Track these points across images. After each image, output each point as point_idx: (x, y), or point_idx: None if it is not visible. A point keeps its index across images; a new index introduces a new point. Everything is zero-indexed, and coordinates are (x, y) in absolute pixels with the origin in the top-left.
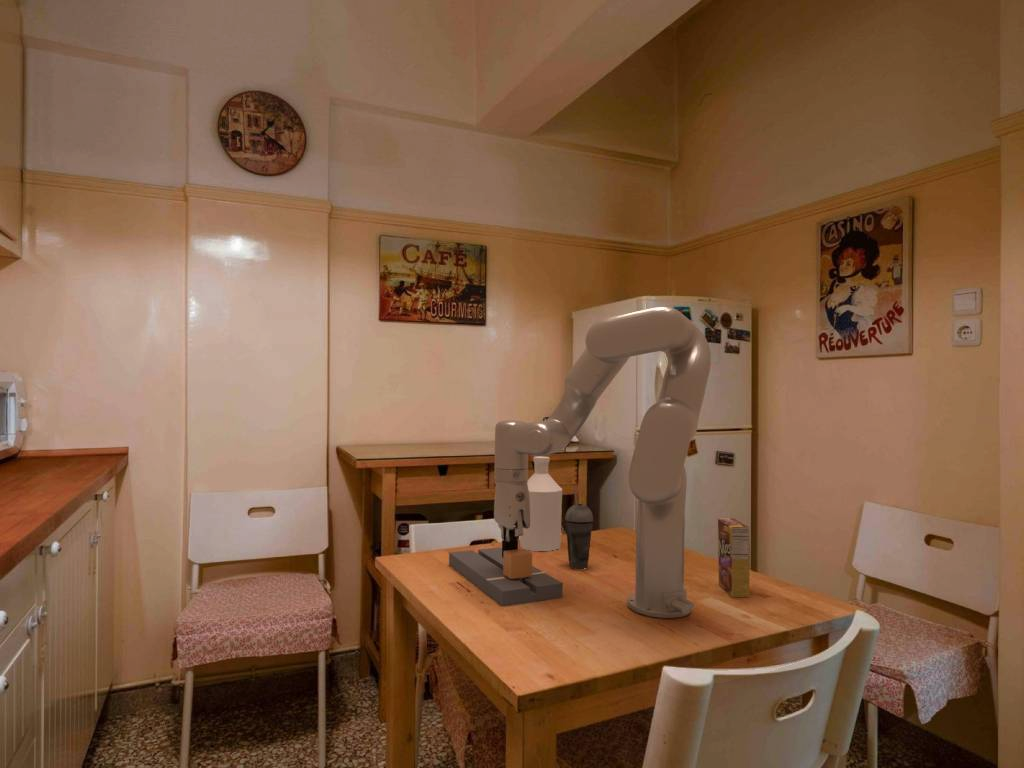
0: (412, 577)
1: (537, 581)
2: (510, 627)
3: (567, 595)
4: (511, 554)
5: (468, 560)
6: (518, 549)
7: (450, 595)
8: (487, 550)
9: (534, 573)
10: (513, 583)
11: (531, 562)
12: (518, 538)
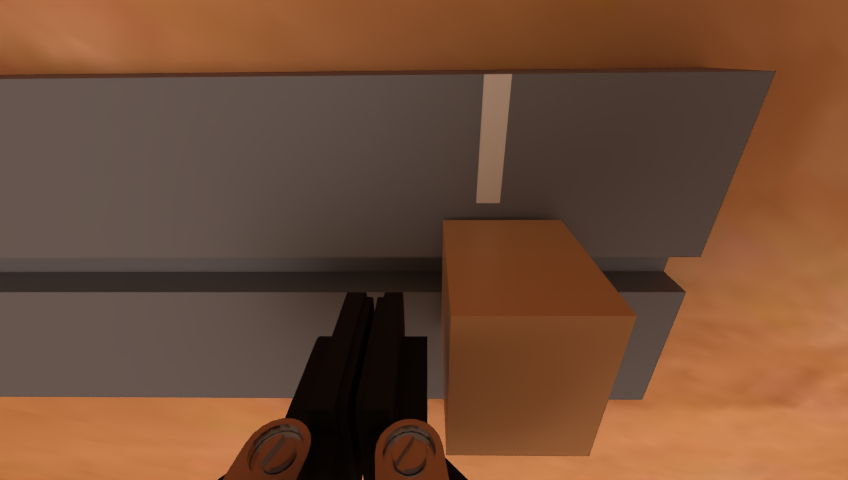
0: (211, 468)
1: (630, 213)
2: (781, 391)
3: (698, 14)
4: (566, 447)
5: (133, 369)
6: (456, 363)
7: None
8: None
9: (489, 160)
10: None
11: (595, 270)
12: (445, 461)
